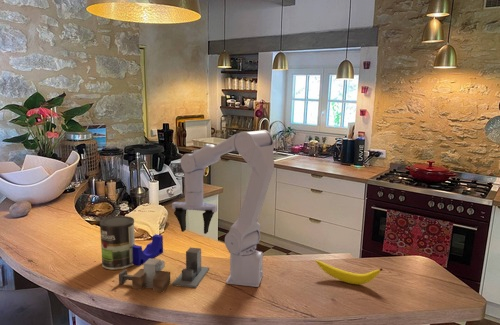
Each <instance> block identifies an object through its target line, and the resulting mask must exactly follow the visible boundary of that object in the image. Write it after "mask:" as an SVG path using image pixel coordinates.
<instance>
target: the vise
mask: <svg viewBox="0 0 500 325" xmlns="http://www.w3.org/2000/svg"><path fill="white" fill-rule="evenodd" d="M126 281H131V286H132V287H131V288H132V290H141V291H142V290H143V289H144V288H145V287H144V268H139V270H137V271H136V272H135V273H134V274H133V275H132V274H128V270H127V269H126V268H124V269H122V270H121V271H120V272H119V274H118V284H119V285H123V284H124V283H125V282H126ZM170 285H171V271H167V270H161V271H160V272H159V273H158V274H157V275H156V276H155V277H154V278H153V288H152V290H153V292H159V293H164V292H165V291H166V289H168V287H169V286H170Z"/></svg>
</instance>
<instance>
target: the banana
mask: <svg viewBox="0 0 500 325" xmlns="http://www.w3.org/2000/svg"><path fill="white" fill-rule="evenodd" d="M315 263H316V264H317V265H318V266H319V268H320V269H321V270H322V271H323V272H325V273H326V274H327V275H329V276H330V277H333V278H334V279H336V280H338V281H341V282H344V283H348V284H351V285H365V284H368V283H370V282H371V281H373V280H374V279H375V278H376V277H377V276H378V275H379V274H380V272H381V271H382V272H383V268H382V267H381V268H380V269H375V270H373V271H369V272H366V273H354V272H350V271H346V270H344V269H340V268H337V267H334V266H332V265H330V264H327V263H326V262H323V261H321V260H317V259H316V260H315Z"/></svg>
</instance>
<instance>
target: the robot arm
mask: <svg viewBox="0 0 500 325" xmlns="http://www.w3.org/2000/svg"><path fill="white" fill-rule="evenodd" d="M275 145H276V141H275V140H274V138H273V136H272V134H271V133H270V132H269V131H268V130H266V129H260V130H253V131H252V130H251V131H240V132H238V133H235V134H232V135H231V136H230V137H228V138H226V139H224V140H223V141H221V142H220V143H217V144H216V145H215V144H211V143H205V144H203V146H202V148H200V149H194V150H193V152H192V153H184V154H183V155H182V156H181V158H180V168H181V170H182V171H184V196H185V197H184V198H185V199H184V201H174V202H172V203H171V208H172V210H174V211H173V214H174V216H175V218H177V219H176V220H177V222H178V223H179V227H180V230H181V232H185V231H186V230H187V221H186V220H187V218H186V217H187V211H188V210H189V211H199V212H200V211H202V212H203V213H202V219H203V234H204V235H205V234H208V232H209V228H210V224H211V221H212V218H213V217H214V215H215V213H216V212H218V204H213V203H207V202H204V176H205V170H206V169H207V167H209V166H211V165H214V164H216V163H217V162H219V161H220V160H221V156H223V155H225V154H228V153H231V152H237V153H238V154H239V155H240V156H241V157H242V158H243V160H244V161H245V163H246V164H248V166H250V168H251V173H250V176H249V179H248V183H247V186H246V190H245V194H244V197H243V201H242V203H241V207H240V211H239V214H238V217H237V219H236V220H235V222H234V223H233V224H232V225H231V226H230V228H229V231H228V232H227V233H226V234H225V236H224V245H225V248H226V249H227V251H228V253H229V255H230V257H229V258H230V261H229V262H230V267H229V270H230V271H229V273H230V274H229V275H228V278H227V279H226V280H225V283H226V284H227V285H229V284H230V285H235V286H247V287H253V288H254V287H255V288H258V287H259V286H260V284H261V281H262V278H263V275H264V272H263V269H264V268H263V267H264V255H263V251H259V250H257V245H258V244H259V243H260V241H261V229H262V226H261V224H260V223H259V222H258V221H259V218H260V215H261V211H262V208H263V204H264V202H265V199H266V195H267V193H268V192H267V191H268V188H269V185H270V182H271V179H272V177H273V172H274V169H275V161H274V160H275V159H274V157H275V156H274V149H275Z"/></svg>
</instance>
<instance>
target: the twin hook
mask: <svg viewBox="0 0 500 325" xmlns="http://www.w3.org/2000/svg"><path fill="white" fill-rule="evenodd" d="M165 262H166V261H165V260H162V259H160V258H152V259H150V258H149V259H148V260H147V261H146V262H145V263H144V264H142V265H143V269H144V288H147V289H153V278H154V277H155V276H156V275H157V274H158V273H159V272H160V271H163V269H164V268H165V267H166V266H165V264H166V263H165Z"/></svg>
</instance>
